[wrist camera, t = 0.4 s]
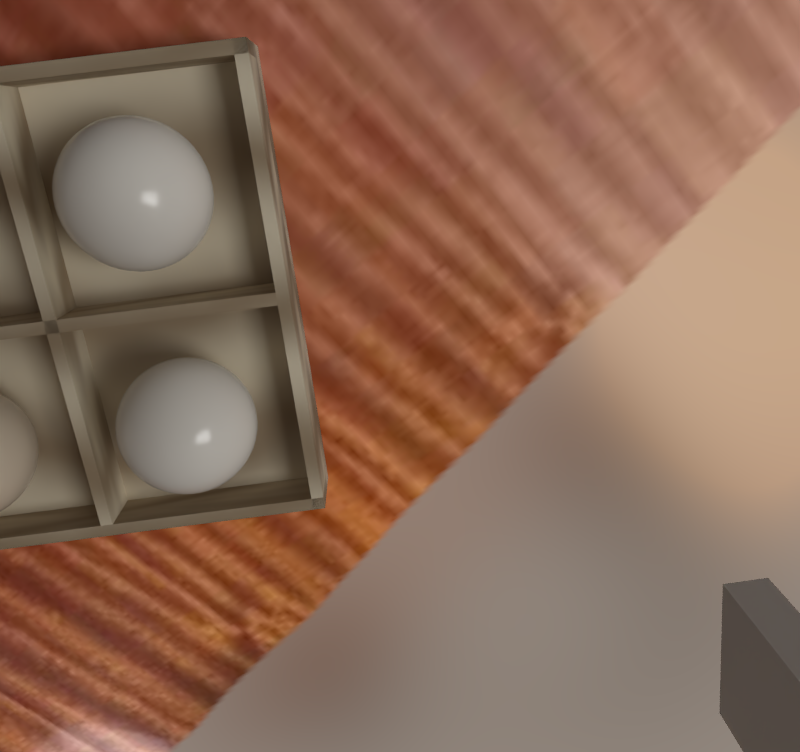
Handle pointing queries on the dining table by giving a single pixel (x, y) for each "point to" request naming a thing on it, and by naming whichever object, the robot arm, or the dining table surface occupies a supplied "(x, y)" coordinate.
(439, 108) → the dining table surface
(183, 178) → the egg
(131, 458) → the egg
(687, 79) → the dining table surface
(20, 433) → the egg
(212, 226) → the crate
